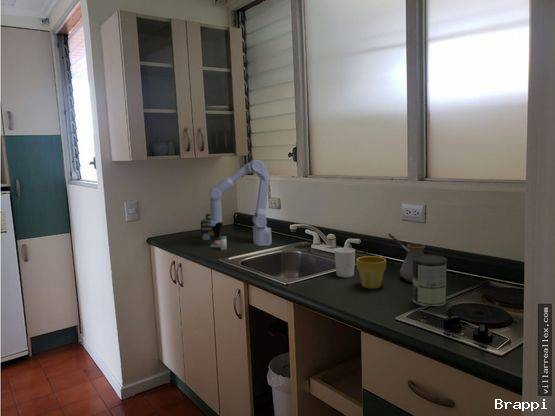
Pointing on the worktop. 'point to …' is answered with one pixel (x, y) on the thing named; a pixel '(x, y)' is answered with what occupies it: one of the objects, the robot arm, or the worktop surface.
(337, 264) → the white cup
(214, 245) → the button housing
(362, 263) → the plant pot
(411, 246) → the coffee pot
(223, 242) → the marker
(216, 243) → the button
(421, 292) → the coffee can
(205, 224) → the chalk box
